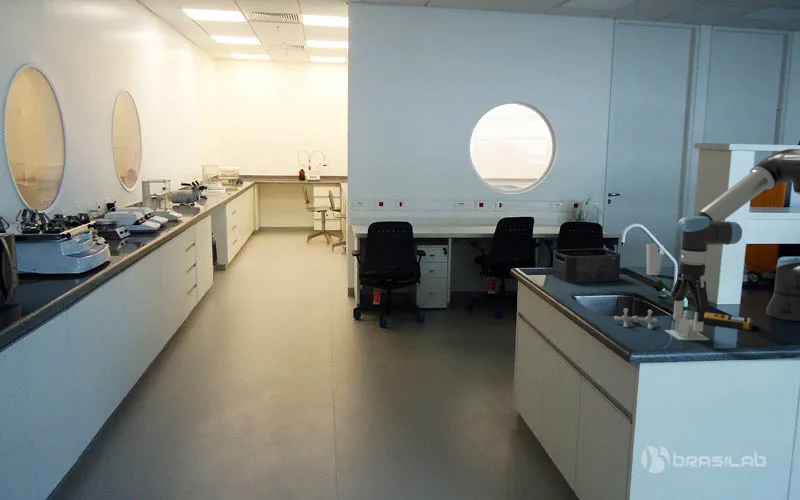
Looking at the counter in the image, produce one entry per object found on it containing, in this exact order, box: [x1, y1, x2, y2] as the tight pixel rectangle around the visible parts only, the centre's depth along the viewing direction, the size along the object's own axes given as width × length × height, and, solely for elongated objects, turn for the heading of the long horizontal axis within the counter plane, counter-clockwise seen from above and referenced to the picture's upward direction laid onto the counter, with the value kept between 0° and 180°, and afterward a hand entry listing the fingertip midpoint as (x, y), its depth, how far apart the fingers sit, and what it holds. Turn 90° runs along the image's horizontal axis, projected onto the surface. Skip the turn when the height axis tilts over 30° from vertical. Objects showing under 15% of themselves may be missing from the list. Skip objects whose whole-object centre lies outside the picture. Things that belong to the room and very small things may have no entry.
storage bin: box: [552, 247, 621, 284], centre depth 288 cm, size 29×19×13 cm
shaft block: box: [664, 309, 710, 341], centre depth 196 cm, size 10×10×8 cm
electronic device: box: [703, 312, 754, 331], centre depth 211 cm, size 8×16×3 cm, turn 59°
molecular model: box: [613, 307, 658, 330], centre depth 209 cm, size 14×8×10 cm
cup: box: [646, 243, 665, 277], centre depth 297 cm, size 8×8×16 cm
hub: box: [673, 313, 701, 338], centre depth 196 cm, size 7×7×6 cm
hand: (687, 324), depth 196 cm, fingers open, 13 cm apart
